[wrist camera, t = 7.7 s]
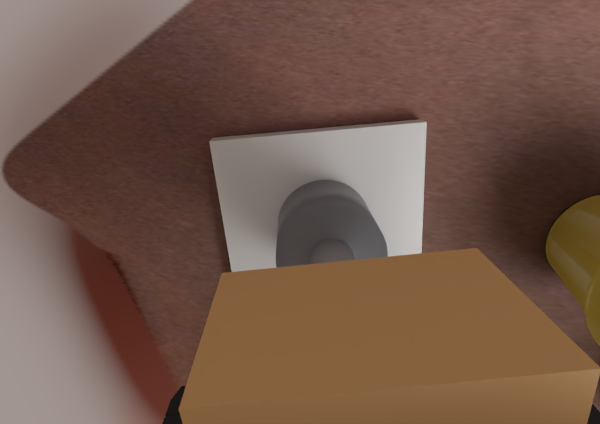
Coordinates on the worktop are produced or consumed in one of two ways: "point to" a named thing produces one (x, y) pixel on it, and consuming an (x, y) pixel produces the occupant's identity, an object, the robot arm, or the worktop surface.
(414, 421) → the collar
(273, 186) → the assembly board
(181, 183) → the worktop surface
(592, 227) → the plant pot
